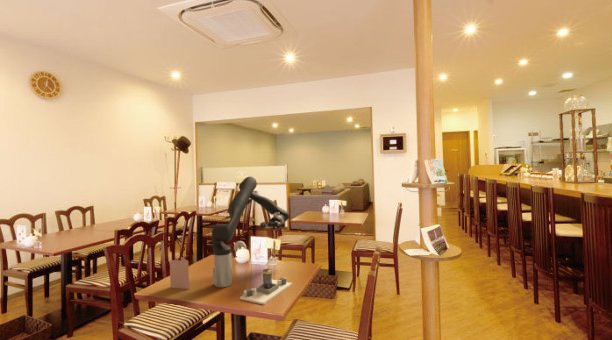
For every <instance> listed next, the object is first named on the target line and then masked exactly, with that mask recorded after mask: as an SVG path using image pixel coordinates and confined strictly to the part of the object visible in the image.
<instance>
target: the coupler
mask: <svg viewBox="0 0 612 340" xmlns="http://www.w3.org/2000/svg"><path fill="white" fill-rule="evenodd" d="M272 273H273V270H272V269H271V268H264V269H262V284H263V288H265V289H270V288H272V280H273V278H272V277H273V275H272Z"/></svg>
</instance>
